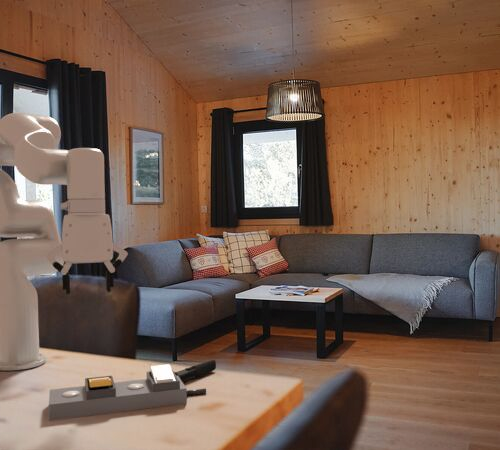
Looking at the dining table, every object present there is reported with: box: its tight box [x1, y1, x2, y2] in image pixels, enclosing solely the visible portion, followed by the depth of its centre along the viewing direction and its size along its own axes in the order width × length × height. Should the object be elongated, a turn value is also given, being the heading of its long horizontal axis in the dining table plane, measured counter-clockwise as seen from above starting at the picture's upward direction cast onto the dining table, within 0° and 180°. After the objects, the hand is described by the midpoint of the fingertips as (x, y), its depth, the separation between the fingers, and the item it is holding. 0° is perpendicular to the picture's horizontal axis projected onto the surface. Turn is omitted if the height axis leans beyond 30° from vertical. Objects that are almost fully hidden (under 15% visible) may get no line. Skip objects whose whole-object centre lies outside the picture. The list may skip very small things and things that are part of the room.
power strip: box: [48, 368, 207, 421], centre depth 114 cm, size 9×31×5 cm, turn 108°
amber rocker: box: [89, 377, 112, 388], centre depth 112 cm, size 7×4×1 cm, turn 18°
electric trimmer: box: [173, 359, 217, 383], centre depth 129 cm, size 4×16×3 cm, turn 142°
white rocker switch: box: [149, 363, 176, 383], centre depth 116 cm, size 7×4×1 cm, turn 18°
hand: (88, 291), depth 119 cm, fingers open, 7 cm apart
